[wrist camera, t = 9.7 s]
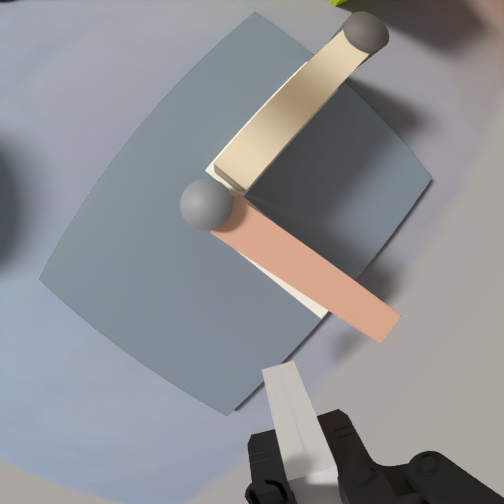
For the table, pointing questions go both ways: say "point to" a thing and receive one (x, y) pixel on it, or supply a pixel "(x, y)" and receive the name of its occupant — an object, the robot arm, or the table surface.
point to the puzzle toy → (337, 2)
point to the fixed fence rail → (300, 99)
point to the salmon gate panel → (284, 256)
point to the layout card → (212, 248)
